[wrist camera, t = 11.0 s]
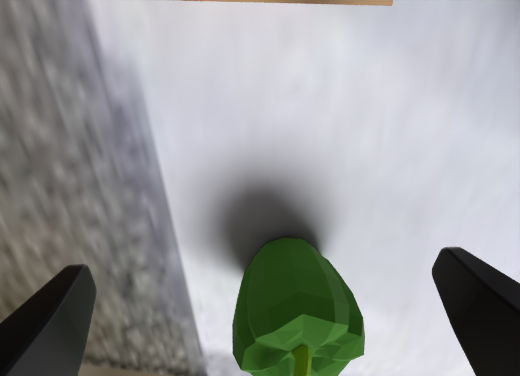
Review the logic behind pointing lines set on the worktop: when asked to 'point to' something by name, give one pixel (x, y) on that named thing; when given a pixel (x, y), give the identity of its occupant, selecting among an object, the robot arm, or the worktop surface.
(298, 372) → the bell pepper
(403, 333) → the worktop surface
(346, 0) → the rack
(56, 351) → the robot arm
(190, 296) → the worktop surface
